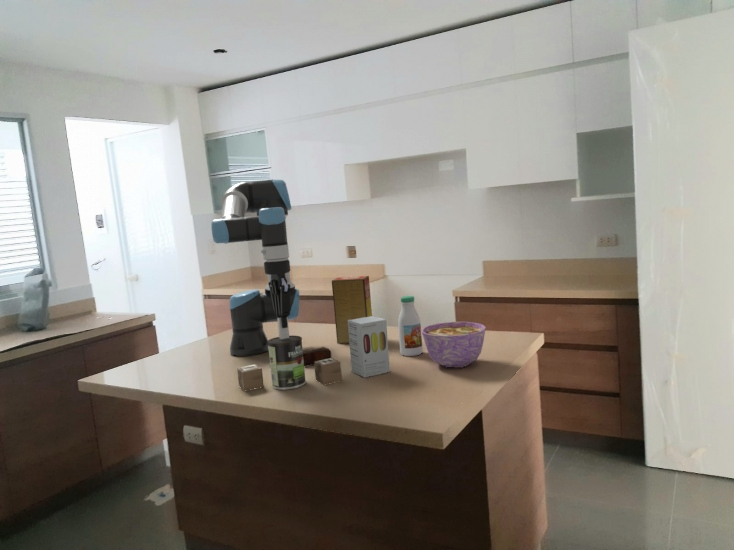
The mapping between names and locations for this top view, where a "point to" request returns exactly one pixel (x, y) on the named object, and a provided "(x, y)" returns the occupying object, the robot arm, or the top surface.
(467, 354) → the bowl of food
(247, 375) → the number block left
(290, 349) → the coffee can
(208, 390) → the top surface
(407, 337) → the milk bottle
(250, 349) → the robot arm
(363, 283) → the food packaging
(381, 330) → the supplement box
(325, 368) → the number block right
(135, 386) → the top surface
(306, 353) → the brick
